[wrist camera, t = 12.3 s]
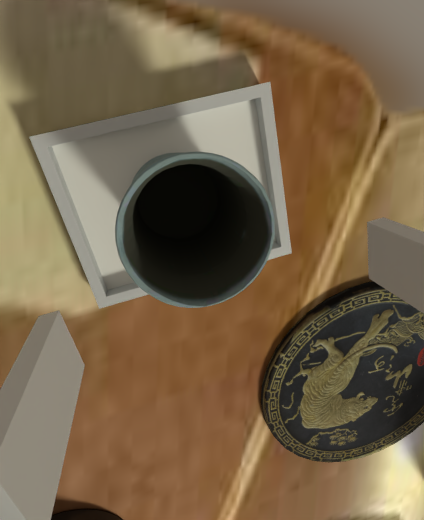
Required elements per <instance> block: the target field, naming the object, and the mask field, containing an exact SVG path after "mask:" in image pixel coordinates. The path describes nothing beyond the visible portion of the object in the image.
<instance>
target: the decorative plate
mask: <svg viewBox="0 0 424 520" xmlns="http://www.w3.org/2000/svg"><path fill="white" fill-rule="evenodd" d="M261 405H262V410H263V415H264V419H265V421H266V423H267V425H268V427H269V429H270V430H271V432H272V434H273V436H274V437H275V438H276V439H277V440H278V441H279V442H280V443H281V444H282V445H283V446H284V447H285V448H286V449H288V450H289V451H291V452H293V453H294V454H296V455H298V456H300V457H303V458H306V459H309V460H313V461H321V462H340V461H349V460H353V459H358V458H362V457H365V456H368V455H371V454H373V453H376V452H379V451H381V450H383V449H385V448H387V447H389V446H391V445H393V444H395V443H396V442H398V441H399V440H401V439H402V438H404V437H405V436H407V435H408V434H410V433H411V432H413V431H414V430H415V429H416V428H417V427H419V426H420V425H421V424H422V423H423V422H424V313H422V312H421V311H419V310H417V309H416V308H414V307H413V306H411V305H410V304H408V303H407V302H405V301H403V300H402V299H400V298H399V297H397V296H396V295H394V294H393V293H391V292H389V291H388V290H386V289H385V288H383V287H382V286H380V285H379V284H377V283H375V282H374V281H373V282H368V283H364V284H361V285H358V286H355V287H351V288H348V289H346V290H344V291H342V292H340V293H338V294H336V295H334V296H332V297H330V298H328V299H326V300H325V301H323V302H322V303H321V304H319V305H318V306H316V307H315V308H314V309H312V310H311V311H309V312H308V313H307V314H306V315H305V316H304V317H303V318H302V319H301V320H299V321H298V322H297V323H296V324H295V325H294V326H293V327H292V328H291V329H290V330H289V332H288V333H287V334H286V336H285V337H284V339H283V340H282V341H281V343H280V344H279V345H278V347H277V348H276V350H275V352H274V354H273V356H272V358H271V360H270V362H269V364H268V366H267V369H266V372H265V376H264V380H263V383H262V392H261Z"/></svg>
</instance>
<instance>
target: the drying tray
mask: <svg viewBox="0 0 424 520" xmlns="http://www.w3.org/2000/svg"><path fill="white" fill-rule="evenodd" d="M29 138H30V140H31V143H32V145H33V147H34V150H35V152H36V155H37V157H38V160H39V162H40V165H41V167H42V169H43V172H44V174H45V177H46V179H47V182H48V184H49V186H50V189H51V191H52V194H53V196H54V199H55V201H56V204H57V206H58V208H59V211H60V213H61V216H62V218H63V221H64V223H65V226H66V228H67V230H68V233H69V235H70V238H71V240H72V243H73V245H74V248H75V250H76V252H77V255H78V257H79V260H80V262H81V265H82V267H83V270H84V272H85V274H86V277H87V279H88V282H89V284H90V287H91V289H92V292H93V294H94V296H95V299H96V301H97V304H98V306H99V309H100V308H103V307H107V306H110V305H113V304H117V303H120V302H124V301H127V300H131V299H134V298H138V297H141V296H145V295H148V293H146V292H145V291H143V290H142V289H141V288H140V287H139V286H138V285H136V284H135V282H134V281H133V280H132V278H131V277H130V276H129V275H128V273H127V272H126V270H125V268H124V266H123V264H122V263H121V260H120V257H119V255H118V251H117V246H116V241H115V224H116V217H117V212H118V209H119V206H120V203H121V201H122V199H123V197H124V195H125V193H126V191H127V190H128V188H129V187H130V185H131V183H132V181H133V178H134V176H135V175H136V173H137V172H138V171H139V169H140V168H141V167H142V166H143V165H144V164H145V163H146V162H148V161H149V160H151V159H152V158H154V157H156V156H159V155H162V154H166V153H177V152H180V153H181V152H183V153H185V152H208V153H214V154H218V155H222V156H224V157H227V158H229V159H231V160H233V161H235V162H237V163H239V164H240V165H242V166H243V167H245V168H246V169H247V170H248V171H249V172H250V173H251V174H253V175H254V176H255V177H256V178H257V179H258V181H259V182H260V183H261V184H262V186H263V187H264V189H265V191H266V193H267V195H268V197H269V199H270V202H271V204H272V208H273V214H274V219H275V236H274V241H273V245H272V249H271V252H270V255H269V257H268V260H269V259H273V258H276V257H280V256H283V255H287V254H290V253H292V252H291V244H290V236H289V228H288V220H287V212H286V204H285V196H284V188H283V180H282V172H281V164H280V157H279V149H278V141H277V133H276V125H275V117H274V109H273V101H272V93H271V85H270V82H268V83H263V84H259V85H254V86H250V87H246V88H241V89H237V90H232V91H228V92H224V93H219V94H215V95H210V96H206V97H202V98H197V99H193V100H189V101H184V102H180V103H175V104H171V105H167V106H162V107H158V108H153V109H149V110H145V111H140V112H136V113H131V114H127V115H123V116H118V117H114V118H109V119H105V120H101V121H96V122H92V123H87V124H83V125H79V126H74V127H70V128H66V129H61V130H57V131H52V132H48V133H44V134H39V135H35V136H30V137H29Z"/></svg>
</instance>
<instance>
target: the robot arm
mask: <svg viewBox="0 0 424 520" xmlns="http://www.w3.org/2000/svg"><path fill="white" fill-rule="evenodd" d="M367 227H368V266H369V279H371V280H372V281H374V282H375V283H377V284H379V285H380V286H382V287H383V288H385V289H386V290H388V291H389V292H391V293H393V294H394V295H396V296H397V297H399V298H400V299H402V300H403V301H405V302H407V303H408V304H410V305H411V306H413V307H414V308H416V309H417V310H419V311H421V312H422V313H424V232H423V231H420V230H417V229H414V228H411V227H409V226H406V225H403V224H400V223H397V222H395V221H392V220H389V219H386V218H380V219H376V220H373V221H369V222H367ZM84 366H85V365H84V363H83V361H82V359H81V356H80V354H79V352H78V350H77V348H76V346H75V344H74V341H73V339H72V337H71V335H70V333H69V331H68V329H67V326H66V324H65V322H64V320H63V318H62V316H61V314H60V311H55V312H52V313H48V314H45V315H41V316H39V317H38V319H37V321H36V323H35V324H34V326H33V328H32V330H31V332H30V334H29V336H28V338H27V340H26V342H25V344H24V345H23V347H22V349H21V351H20V353H19V355H18V357H17V359H16V361H15V363H14V365H13V367H12V368H11V370H10V372H9V374H8V376H7V378H6V380H5V382H4V384H3V386H2V388H1V389H0V520H122V519H120V518H119V517H117V516H115V515H113V514H111V513H108V512H104V511H99V510H73V511H67V512H63V513H59V514H56V515H53V516H52V512H53V507H54V503H55V498H56V494H57V489H58V485H59V480H60V476H61V471H62V466H63V462H64V457H65V453H66V448H67V444H68V439H69V435H70V430H71V425H72V421H73V416H74V412H75V407H76V403H77V398H78V394H79V389H80V385H81V380H82V375H83V371H84Z"/></svg>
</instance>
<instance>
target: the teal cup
mask: <svg viewBox="0 0 424 520" xmlns="http://www.w3.org/2000/svg"><path fill="white" fill-rule="evenodd" d="M274 236H275V219H274V214H273V208H272V204H271V202H270V199H269V197H268V195H267V193H266V191H265V189H264V187H263V186H262V184H261V183H260V182H259V181H258V179H257V178H256V177H255V176H254V175H253V174H251V173H250V172H249V171H248V170H247V169H246V168H245V167H243V166H242V165H240V164H239V163H237V162H235V161H233V160H231V159H229V158H227V157H224V156H222V155H218V154H214V153H208V152H185V153H183V152H181V153H180V152H177V153H166V154H162V155H159V156H156V157H154V158H152V159H151V160H149V161H148V162H146V163H145V164H144V165H143V166H142V167H141V168H140V169H139V171H138V172H137V173H136V175H135V176H134V178H133V181H132V183H131V185H130V187H129V188H128V190H127V191H126V193H125V195H124V197H123V199H122V201H121V203H120V206H119V209H118V212H117V217H116V224H115V241H116V246H117V251H118V255H119V257H120V260H121V263H122V264H123V266H124V268H125V270H126V272H127V273H128V275H129V276H130V277H131V278H132V280H133V281H134V282H135V284H136V285H138V286H139V287H140V288H141V289H142V290H143V291H145V292H146V293H148V294H149V295H151V296H153V297H154V298H156V299H158V300H160V301H162V302H164V303H167V304H170V305H174V306H178V307H186V308H195V307H206V306H211V305H215V304H218V303H221V302H224V301H226V300H228V299H230V298H232V297H234V296H235V295H237V294H238V293H240V292H241V291H243V290H244V289H245V288H246V287H247V286H248V285H250V284H251V283H252V282H253V281H254V279H255V278H256V277H257V276H258V275H259V273H260V272H261V270H262V269H263V267H264V265H265V264H266V262H267V260H268V257H269V255H270V252H271V249H272V245H273V241H274Z"/></svg>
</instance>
